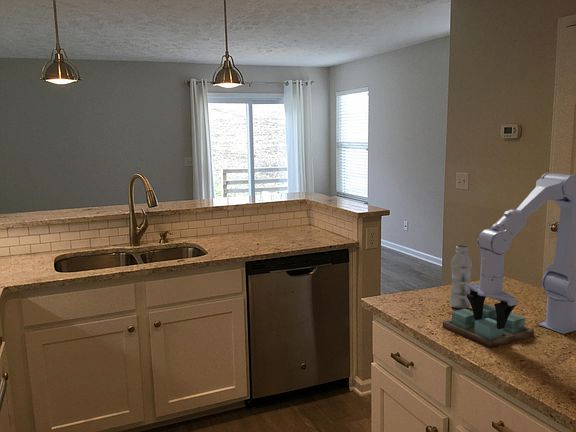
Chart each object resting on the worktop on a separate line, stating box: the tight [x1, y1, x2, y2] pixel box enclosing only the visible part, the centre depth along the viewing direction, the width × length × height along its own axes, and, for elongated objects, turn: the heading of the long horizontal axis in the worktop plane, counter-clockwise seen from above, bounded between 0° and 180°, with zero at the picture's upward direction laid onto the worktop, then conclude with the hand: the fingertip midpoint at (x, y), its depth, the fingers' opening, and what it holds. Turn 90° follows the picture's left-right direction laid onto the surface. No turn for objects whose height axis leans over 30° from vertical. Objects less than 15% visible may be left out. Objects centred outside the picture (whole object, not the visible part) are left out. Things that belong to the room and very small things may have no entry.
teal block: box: [474, 318, 503, 340], centre depth 139 cm, size 5×5×4 cm
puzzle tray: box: [442, 303, 535, 349], centre depth 144 cm, size 17×17×5 cm
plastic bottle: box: [448, 244, 473, 310], centre depth 163 cm, size 6×7×20 cm
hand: (489, 323), depth 138 cm, fingers open, 7 cm apart
